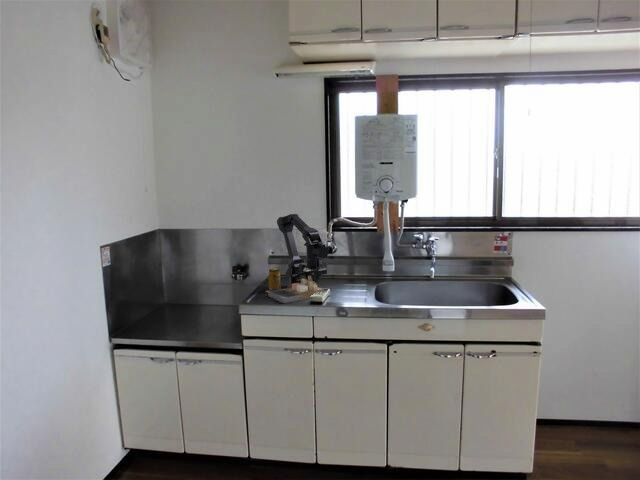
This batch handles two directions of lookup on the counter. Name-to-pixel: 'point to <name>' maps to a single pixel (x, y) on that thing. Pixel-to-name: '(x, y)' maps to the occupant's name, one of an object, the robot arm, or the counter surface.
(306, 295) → the plate
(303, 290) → the tile cream
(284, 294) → the tray
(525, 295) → the counter surface
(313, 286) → the t-shaped wooden block
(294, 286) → the tile terracotta
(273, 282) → the condiment
